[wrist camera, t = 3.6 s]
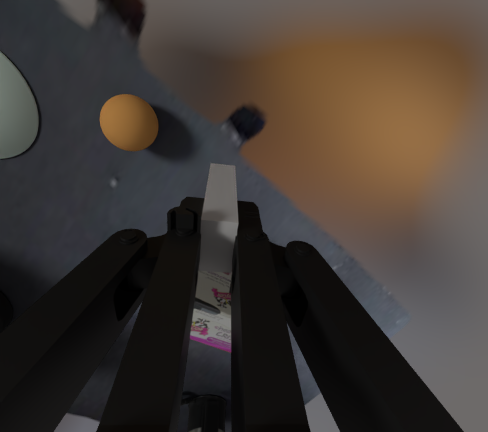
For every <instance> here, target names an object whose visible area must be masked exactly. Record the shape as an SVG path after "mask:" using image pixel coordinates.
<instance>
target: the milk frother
mask: <svg viewBox="0 0 488 432" xmlns="http://www.w3.org/2000/svg"><path fill="white" fill-rule="evenodd" d="M188 403H189V418H188V430H187V432H225V413H226V410H225V407H226V401H225V400H224V399H223V398H220V397H218V396H211V395H204V396H199V397H196V398H194V399H192V400H181V405H184V404H188Z"/></svg>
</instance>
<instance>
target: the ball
mask: <svg viewBox="0 0 488 432" xmlns="http://www.w3.org/2000/svg"><path fill="white" fill-rule="evenodd" d="M100 125H101V128H102V131H103V133H104V135H105V136H106V138H107V139H108V140H109V141H110V142H111V143H112V144H114V145H115V146H117V147H118V148H121V149H123V150H127V151H139V150H143V149H145V148H147V147H148V146H150V145H151V144H152V143H153V142H154V140H155V138H156V136H157V134H158V119H157V116H156V114H155V112H154V110H153V109H152V107H151V106H150V105H149V104H148V103H147V102H146V101H144V100H143V99H141V98H139V97H137V96H134V95H129V94H121V95H117V96H114V97H112V98H111V99H109V100H108V101H107V102H106V103H105V104H104V106H103V107H102V110H101V113H100Z"/></svg>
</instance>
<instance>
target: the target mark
mask: <svg viewBox="0 0 488 432" xmlns="http://www.w3.org/2000/svg"><path fill="white" fill-rule="evenodd" d="M38 127H39V114H38V109H37V105H36V102H35V98H34V96H33V94H32V91H31V89H30V87H29V86H28V84H27V82H26V80H25V79H24V77H23V76H22V74H21V73H20V72H19V70H18V69H17V68H16V67H15V65H14V64H13V63H12V62H11V61H10V60H9V59H8V58H7V57H6V56H5V55H4V54H3V53H2V52H1V51H0V159H4V158H10V157H14V156H16V155H19V154H21V153H22V152H24V151H26V150H27V149H28V148H29V147H30V146H31V144H32V143H33V142H34V140H35V138H36V136H37V132H38Z"/></svg>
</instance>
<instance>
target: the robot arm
mask: <svg viewBox="0 0 488 432" xmlns="http://www.w3.org/2000/svg"><path fill="white" fill-rule="evenodd" d="M167 223H168V231H167V233H166V234H164V235H161V236H157V237H150V238H147V236H146V234H145V233H144V232H143V231H141V230H138V229H124V230H121V231H118V232H116V233H115V234H113V235H112V236H110V237H109V238H108V239H107V240H106V241H105V242H104V243H103V244H101V245H100V246H99V247H98V248H97V249H96V250H95V251H93V252H92V253H91V254H90V255H89V256H88V257H87V258H85V259H84V260H83V261H82V262H81V263H80V264H79V265H77V266H76V267H75V268H74V269H73V270H72V271H71V272H70V273H68V274H67V275H66V276H65V277H64V278H63V279H62V280H60V281H59V282H58V283H57V284H56V285H55V286H54V287H52V288H51V289H50V290H49V291H48V292H47V293H46V294H44V295H43V296H42V297H41V298H40V299H39V300H38V301H36V302H35V303H34V304H33V305H32V306H31V307H30V308H29V309H27V310H26V311H25V312H24V313H23V314H22V315H21V316H19V317H18V318H17V319H16V320H15V321H14V322H13V323H11V324H10V325H9V326H8V327H7V328H6V326H7V325H8V324H9V323H10V322H11V320H12V317H13V310H12V307H11V304H10V303H9V301H8V300H7V298H6V297H5V296H4V295H3V294H2V293H1V292H0V432H54V430H55V429H56V427H57V426H58V424H59V423H60V421H61V420H62V418H63V417H64V415H65V414H66V413H67V411H68V410H69V408H70V407H71V405H72V404H73V402H74V401H75V399H76V398H77V396H78V395H79V393H80V392H81V390H82V389H83V388H84V386H85V385H86V383H87V382H88V380H89V379H90V377H91V376H92V374H93V373H94V371H95V370H96V368H97V367H98V366H99V364H100V363H101V361H102V360H103V358H104V357H105V355H106V354H107V352H108V351H109V349H110V348H111V346H112V345H113V344H114V342H115V341H116V339H117V338H118V336H119V335H120V333H121V332H122V330H123V329H124V327H125V326H126V324H127V323H128V321H129V320H130V319H131V317H132V316H133V314H134V313H135V311H136V310H137V308H138V307H139V305H140V304H141V302H142V301H143V302H142V305H141V307H140V310H139V313H138V316H137V319H136V322H135V324H134V327H133V330H132V333H131V336H130V339H129V341H128V344H127V347H126V350H125V353H124V356H123V358H122V361H121V364H120V367H119V370H118V373H117V375H116V378H115V381H114V384H113V387H112V390H111V392H110V395H109V398H108V401H107V404H106V407H105V409H104V412H103V415H102V418H101V421H100V424H99V426H98V429H97V431H96V432H177V428H178V420H179V413H180V406H181V398H182V391H183V384H184V377H185V369H186V362H187V355H188V347H189V340H190V333H191V325H192V318H193V311H194V304H195V296H196V289H197V282H198V271H210V272H226V273H231V271H232V276H231V283H230V290H229V293H231V423H232V432H310V428H309V424H308V420H307V415H306V410H305V406H304V401H303V397H302V392H301V387H300V383H299V378H298V373H297V369H296V364H295V360H294V355H293V350H292V346H291V341H290V336H289V332H288V327H287V323H288V326H289V328H290V330H291V332H292V334H293V336H294V338H295V340H296V342H297V344H298V346H299V348H300V350H301V352H302V354H303V356H304V358H305V360H306V363H307V365H308V367H309V369H310V371H311V373H312V375H313V377H314V379H315V381H316V383H317V385H318V387H319V389H320V391H321V393H322V395H323V398H324V400H325V401H326V404H327V406H328V408H329V410H330V412H331V414H332V416H333V418H334V420H335V422H336V424H337V426H338V428H339V430H340V432H464V431H463V430H462V429H461V428H460V426H459V425H458V424H457V423H456V422H455V420H454V419H453V418H452V417H451V415H450V414H449V413H448V412H447V410H446V409H445V408H444V407H443V405H442V404H441V403H440V402H439V401H438V399H437V398H436V397H435V396H434V394H433V393H432V392H431V391H430V389H429V388H428V387H427V386H426V384H425V383H424V382H423V381H422V379H421V378H420V377H419V376H418V375H417V373H416V372H415V371H414V370H413V368H412V367H411V366H410V365H409V364H408V362H407V361H406V360H405V359H404V357H403V356H402V355H401V353H400V352H399V351H398V350H397V349H396V347H395V346H394V345H393V344H392V342H391V341H390V340H389V339H388V337H387V336H386V335H385V334H384V332H383V331H382V330H381V329H380V327H379V326H378V325H377V324H376V323H375V321H374V320H373V319H372V318H371V316H370V315H369V314H368V313H367V311H366V310H365V309H364V308H363V306H362V305H361V304H360V303H359V302H358V300H357V299H356V298H355V297H354V295H353V294H352V293H351V292H350V290H349V289H348V288H347V287H346V285H345V284H344V283H343V282H342V280H341V279H340V278H339V277H338V276H337V274H336V273H335V272H334V271H333V269H332V268H331V267H330V266H329V264H328V263H327V262H326V261H325V259H324V258H323V257H322V256H321V255H320V253H319V252H318V251H317V250H316V249H315V248H314V247H313V246H312V245H310V244H308V243H306V242H303V241H292V242H289V243H288V244H287V246H286V247H282V246H279V245H276V244H273V243H271V242H270V241H269V239H268V237H267V235H266V234H265V233H264V232H263V230H262V225H261V220H260V215H259V210H258V207H257V206H256V205H255V203H254V202H246V201H237V190H236V173H235V166H231V165H222V164H213V163H211V165H210V171H209V177H208V183H207V188H206V194H205V198H196V197H186V198H185V199H183V200H182V201H181V204H180V206H179V207H175V208H173V209H171V210H169V211H168V213H167ZM286 321H287V322H286ZM5 328H6V329H5ZM4 329H5V330H4Z"/></svg>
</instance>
